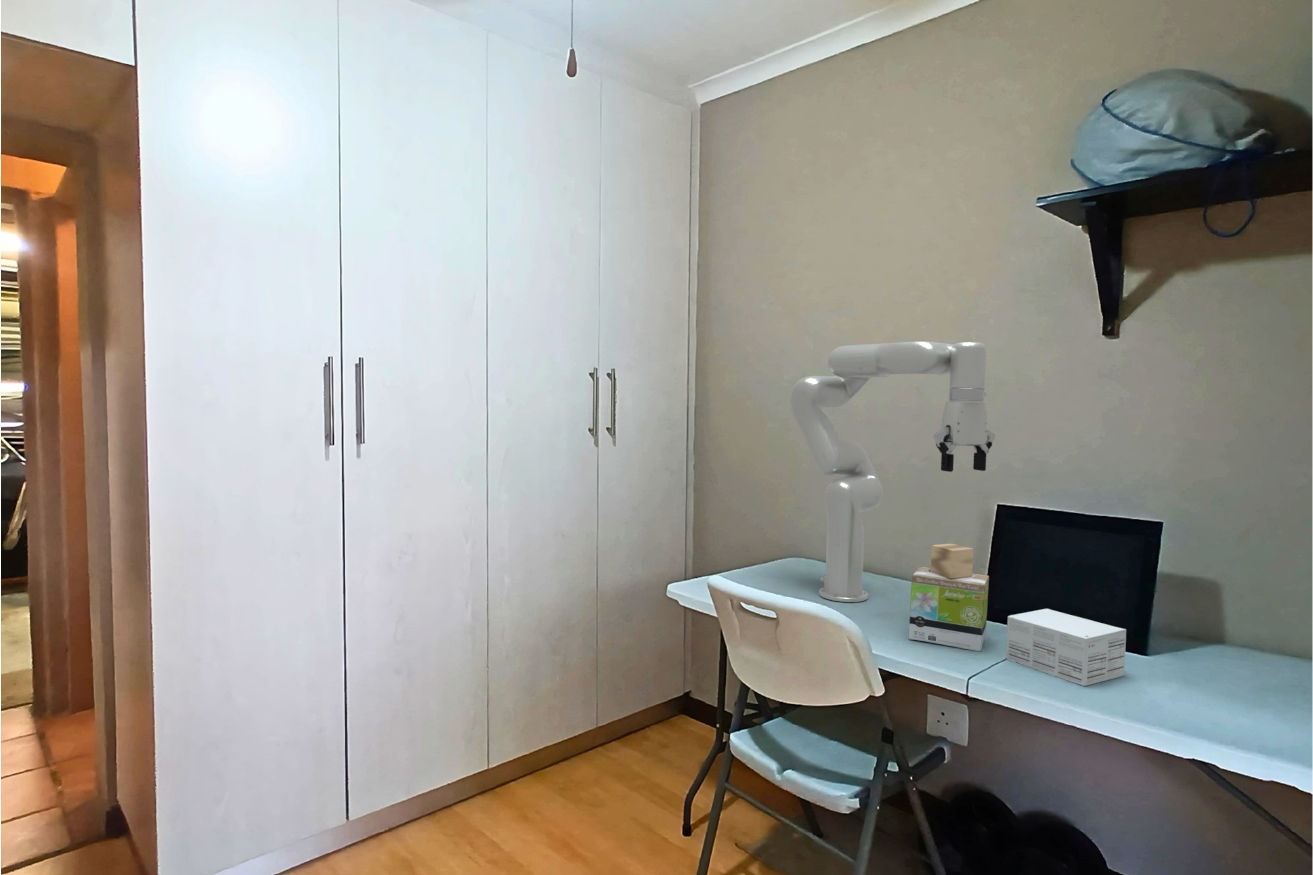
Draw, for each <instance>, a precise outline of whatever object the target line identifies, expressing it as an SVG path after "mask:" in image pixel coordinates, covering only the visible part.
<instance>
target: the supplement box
mask: <svg viewBox="0 0 1313 875" xmlns="http://www.w3.org/2000/svg"><path fill="white" fill-rule="evenodd" d="M1006 626H1007V627H1006V628H1007V630H1006V648H1005V649H1006V650H1005V659H1006V658H1007V659H1006V660H1008V659H1009V660H1008V661H1011V660H1013V661H1014V663H1016V662H1018V663H1017V664H1019V663H1020V665H1022V664H1023V665H1022V666H1024V667H1027V668H1030V667H1031V669H1033V668H1034V670H1036V669H1037V670H1036V671H1040V672H1042V673H1045V674H1047V673H1048V675H1051V676H1053V675H1054V676H1053V677H1056V678H1059V679H1062V680H1065V681H1068V682H1070V683H1071V682H1072V683H1074V684H1076V685H1079V686H1083V687H1087V686H1091V685H1094V684H1097V683H1101V682H1102V683H1103V682H1105V681H1110V680H1114V679H1116V678H1119V677H1125V669H1126V668H1125V665H1126V664H1125V663H1126V643H1127V629H1126V628H1122V627H1118V626H1114V625H1110V624H1106V623H1104V622H1103V623H1101V622H1098V621H1094V620H1091V619H1088V618H1084V617H1080V616H1077V615H1071V614H1068V613H1065V612H1060V611H1057V610H1053V609H1050V608H1043V609H1038V610H1033V611H1027V612H1022V613H1016V614H1010V615H1008V616H1007V625H1006ZM1013 661H1012V662H1013Z"/></svg>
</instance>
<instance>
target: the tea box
mask: <svg viewBox="0 0 1313 875" xmlns="http://www.w3.org/2000/svg"><path fill="white" fill-rule="evenodd" d="M989 581H990V576H989V575H986V574H980V573H979V574H978V573H972V576H970V577H961V578H948V577H945V576H941V575H938V574H935V573H931V567H926V566H918V568H917V569H916V571H915V572H914V573H913V574H912V575H911V585H910V586H911V588H910V602H909V603H910V604H909V620H908V621H909V622H908V640H913V641H914V640H915V641H919V642H920V641H921V642H927V643H932V644H938V645H943V646H949V647H954V648H958V649H964V650H968V651H972V652H973V651H974V652H978V653H979V652H981V651H982V647H983V646H984V642H985V639H986V633H987V632H986V631H987V620H988V619H987V618H988V617H987V616H988V601H989V600H988V599H989V598H988V596H989V583H990V582H989Z"/></svg>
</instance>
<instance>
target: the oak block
mask: <svg viewBox="0 0 1313 875" xmlns="http://www.w3.org/2000/svg"><path fill="white" fill-rule="evenodd" d="M930 552H931V555H930V556H931V557H930V558H931V559H930V568H931V573H935V574H938V575H941V576H945V577H948V578H961V577H970V576H972V574H973V573H974V572H973V568H974V567H973V564H974V548H972V547H967V546H963V545H959V544H955V543H942V544H932V545H931V551H930Z"/></svg>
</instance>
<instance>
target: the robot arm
mask: <svg viewBox="0 0 1313 875" xmlns="http://www.w3.org/2000/svg"><path fill="white" fill-rule="evenodd" d="M986 362H987V347H986V345H985V344H984V343H983V342H978V341H961V342H960V341H959V342H956V343H954V344H953V343H946V342H938V341H937V342H936V341H927V340H924V341H921V340H920V341H904V342H900V341H899V342H890V343H889V342H885V343H883V342H881V343H867V344H853V345H852V344H851V345H849V344H848V345H841V346H838V347H836V348H835V349H833V350H832V351H831V352H830V354H829V356H828V358H827V366H828V368H829V371H831V373H832V374H833V376H831V375H830V376H829V375H828V376H827V375H810V376H806V377H802V378H800V379H799V380H798V381H797V382H796V383H795V384H794V386H793V388H792V390H791V392H790V393H791V394H790V398H789V406H790V412H791V414H792V417H793V419H794V421H795V423H796V425H797V427H798V429H799V431H800V432H801V435H802V436H803V440H804V442H805V444H806V447H807V449H808V451H809V453H810V456H811V458H812V460H813V463H814V465H815V467H816V469H817V470H818V472H819V473H820V474H822V475H823V476H828V477H835V476H837V477H838V476H842V477H838V478H835V479H834V480H832V481H831V482H830V483H829V484H828V485H827V486H826V487H825V490H824V495H823V496H824V497H823V499H824V500H823V501H824V506H825V514H826V549H825V550H826V553H825V575H824V576H820V578H819V580H820V582H822V583H823V587H821V588H819V590H818V595H819V597H821V598H823V599H826V600H830V601H835V602H841V603H859V602H864V601H867V600H868V598H869V593H868V592H867V591H865V590H864V589H863V578H864V577H863V576H864V575H863V573H864V550H865V549H864V548H865V544H864V543H865V527H864V523H863V520H862V517H861V513H862V512H867V511H872V510H874V509H876V508H878V507H879V506H880V505H881V503H882V502H883V498H884V489H883V487H882V482H881V481H880V479H879V476H878V474H877V472H876V470H875V467H874V465H873V464H872V461H871V459H870V457H869V454H868V452H867V451H866V450H865V448H864V447H863V446H862V445H861V444H860V443H859V442H857V441H855V440H850V439H841V438H840V436H839V435H838V434H837V431H836V430H835V427H834V424H833V423H832V421H831V419H830V418H829V416H828V415H826V413H824V412H823V410H822V409H821V408H838V407H842V406H844V405H846V404H847V403H848V402H850V401H851V399H853V397H855V395H856V394H857V393H858V392H859V391H861V389H862V388H863V387H864V386H865V385H866V384H867V383H868V382H869V380H870V379H871V378H887V377H889V376H891V375H903V374H904V375H907V374H908V375H909V374H910V375H912V374H913V375H915V374H917V375H918V374H919V375H937V376H941V375H943V376H945V375H949V384H948V385H949V386H948V387H949V388H948V390H949V391H948V401H947V402H945V403H944V404H945V405H944V408H943V413H942V418H941V426H940V430H939V431H938V432H935V433H934V434H933V435H932V436H933V439H934V442H935V446H936V448H937V449H938V453H939V454H941V456H940V457H941V459H940V460H941V462H940V471H942V472H949V473H952V472H953V471H954V462H955V461H954V460H955V459H954V458H955V455H954V453H953V452H954V450H955V449H956V447H958V446H959V447H964V446H968V447H969V446H970V447H971V446H972V447H973V448H974V450H975V452H973V464H972V466H973V470H976V471H981V472H984V471H987V454H989V452H990V449H991V447H992V446H993V442H994V440H995V439H996V438H995V437H996V434H995V433H993V432H992V431H991V430H989V429H988V415H987V406H986V402H985V398H986V396H987V394H986V392H985V387H986V386H985V384H986Z"/></svg>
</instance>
